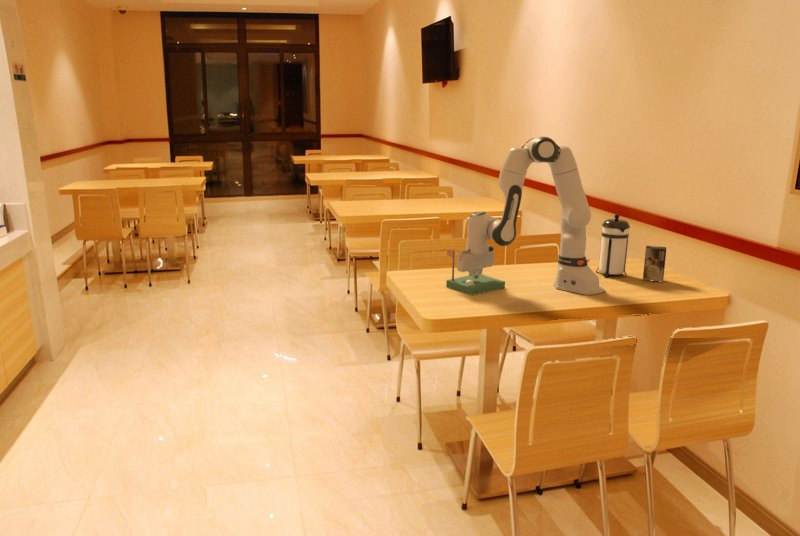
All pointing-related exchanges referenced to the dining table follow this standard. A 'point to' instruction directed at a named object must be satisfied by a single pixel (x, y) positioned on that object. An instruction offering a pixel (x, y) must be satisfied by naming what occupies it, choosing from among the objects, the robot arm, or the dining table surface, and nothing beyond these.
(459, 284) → the putting green
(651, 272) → the coffee box
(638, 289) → the dining table surface
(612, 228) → the coffee press
